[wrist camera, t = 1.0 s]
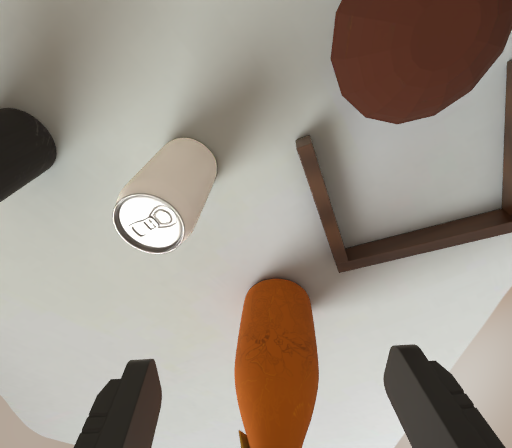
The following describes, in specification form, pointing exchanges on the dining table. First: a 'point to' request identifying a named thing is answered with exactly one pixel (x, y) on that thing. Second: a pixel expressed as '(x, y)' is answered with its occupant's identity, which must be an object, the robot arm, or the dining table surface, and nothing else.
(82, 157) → the dining table surface
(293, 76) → the dining table surface
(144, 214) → the can
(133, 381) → the robot arm
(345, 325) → the dining table surface
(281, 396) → the wine bottle
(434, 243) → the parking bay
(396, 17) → the muffin
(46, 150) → the travel mug
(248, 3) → the dining table surface
